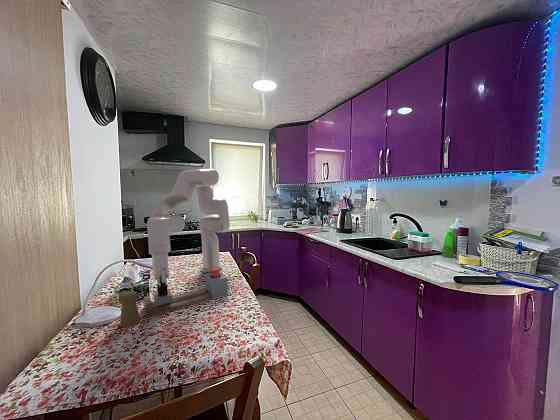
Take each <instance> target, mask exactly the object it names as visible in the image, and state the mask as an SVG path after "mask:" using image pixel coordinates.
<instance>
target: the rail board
mask: <svg viewBox="0 0 560 420" xmlns="http://www.w3.org/2000/svg"><path fill="white" fill-rule="evenodd" d="M172 296H173V301H172V302H171V303H167V304H163V305H159V306H157V305H155V302H154V300H151V297H150V295H146V296H144V297H143V306H144V307H143V308H144V312H145V316H146V318H151V317H154V316H157V315H161V314H164V313H168V312H172V311H175V310H180V309H183V308H186V307H189V306H194V305H197V304H200V303H205V302H207V301H211V300H212V298H211V296H210V295H209V293H208V292H207V291H206V290H205V288H201V289H200V288H199V289H197V290H196V289H195V290H192V291H188V292H183V293H180V294H176V295H172Z"/></svg>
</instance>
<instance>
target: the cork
mask: <svg viewBox="0 0 560 420" xmlns="http://www.w3.org/2000/svg"><path fill="white" fill-rule="evenodd" d="M137 298H138V294H137V292H136V291H134V290H129V291H125V292H122V294H121V293H120V295H119V302H120V303H121V312H120V322H119V323H120V325H119V326H120V327H121V328H129V327H133V326H135V325H137V324H138V323H140V321H141V318H140V313H139V308H138V305H137Z"/></svg>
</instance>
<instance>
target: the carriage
mask: <svg viewBox="0 0 560 420" xmlns="http://www.w3.org/2000/svg"><path fill="white" fill-rule="evenodd" d="M160 282H161V281H160ZM157 284H158V286H159V282H158V283H157ZM173 296H174V295H173V293H172V291H171V290H170V289H168V294H167V295H164V296H159V294H158V291H156V292H153V301H154V302H155V305H157V306H159V305H163V304H167V303H171V302H172V301H173Z"/></svg>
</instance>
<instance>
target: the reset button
mask: <svg viewBox="0 0 560 420" xmlns="http://www.w3.org/2000/svg"><path fill="white" fill-rule="evenodd" d="M209 270H210V272H209V273H211V278H217V277H220V272H221V271H222V269H221V268H220V267H213V268H210V269H209Z"/></svg>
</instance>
